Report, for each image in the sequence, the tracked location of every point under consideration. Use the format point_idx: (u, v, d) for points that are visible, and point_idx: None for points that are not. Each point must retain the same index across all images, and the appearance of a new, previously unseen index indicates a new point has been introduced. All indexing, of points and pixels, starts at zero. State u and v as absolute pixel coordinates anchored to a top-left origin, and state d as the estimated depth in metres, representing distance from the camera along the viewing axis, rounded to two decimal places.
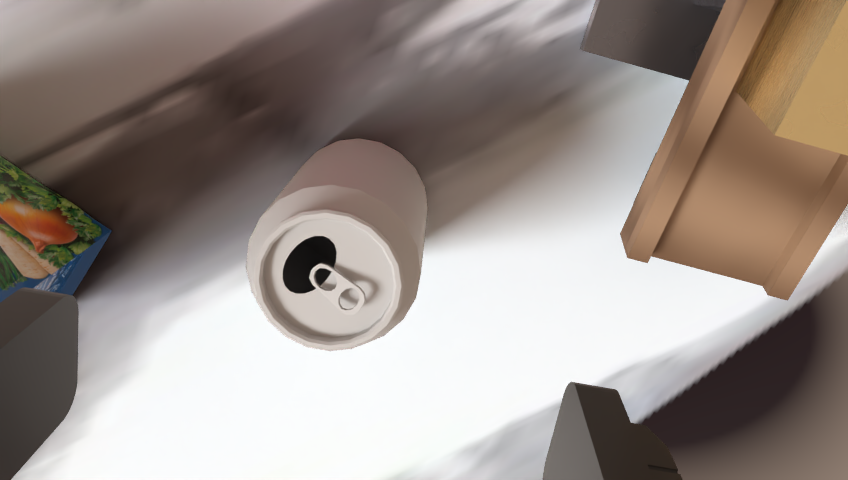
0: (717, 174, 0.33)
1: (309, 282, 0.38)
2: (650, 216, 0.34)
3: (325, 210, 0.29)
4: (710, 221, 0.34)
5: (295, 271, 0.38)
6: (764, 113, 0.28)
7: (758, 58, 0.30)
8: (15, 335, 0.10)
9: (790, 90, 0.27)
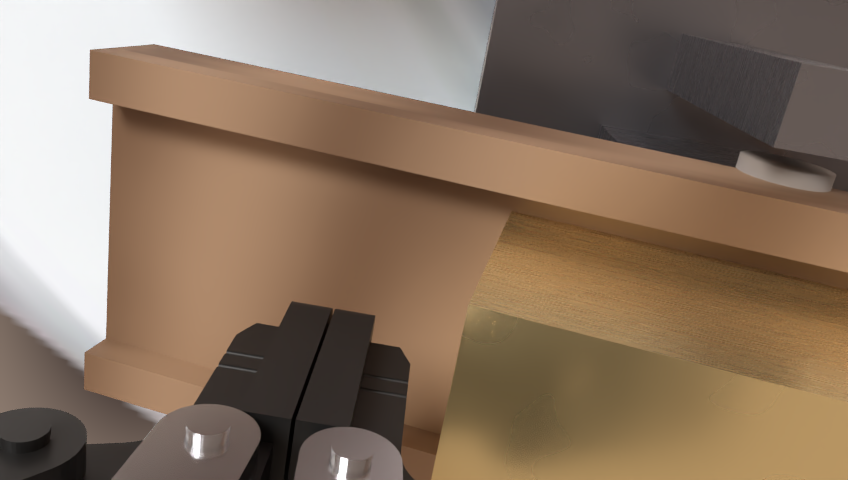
0: (310, 206, 0.16)
1: None
2: (194, 81, 0.15)
3: None
4: (211, 214, 0.16)
5: None
6: (502, 271, 0.12)
7: (592, 238, 0.14)
8: (317, 346, 0.11)
9: (580, 316, 0.10)
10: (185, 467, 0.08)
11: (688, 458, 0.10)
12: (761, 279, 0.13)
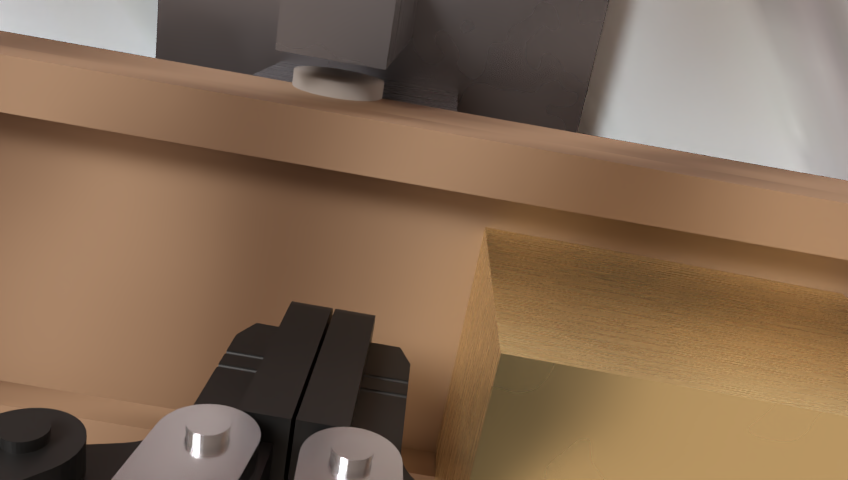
0: None
1: None
2: None
3: None
4: None
5: None
6: (512, 305, 0.11)
7: (574, 254, 0.13)
8: (317, 346, 0.11)
9: (610, 354, 0.10)
10: (185, 467, 0.08)
11: None
12: (737, 284, 0.14)
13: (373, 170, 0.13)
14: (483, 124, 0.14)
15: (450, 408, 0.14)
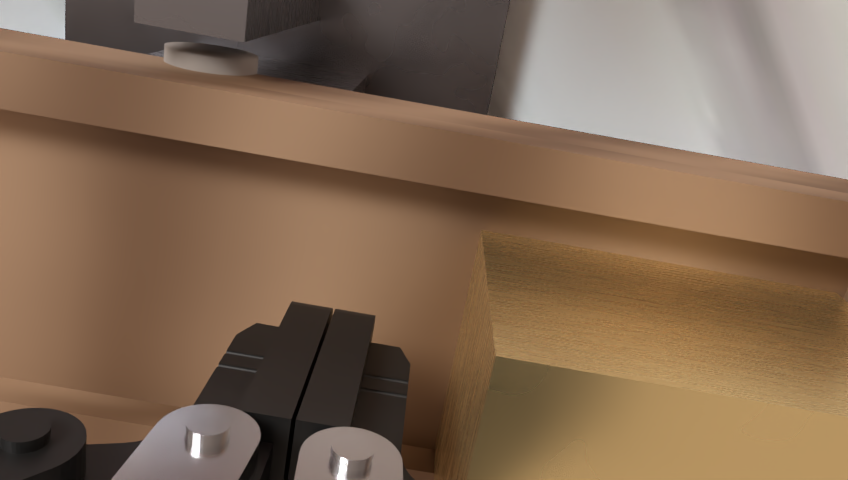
0: None
1: None
2: None
3: None
4: None
5: None
6: (507, 307, 0.11)
7: (569, 255, 0.14)
8: (317, 346, 0.11)
9: (604, 355, 0.10)
10: (185, 467, 0.08)
11: None
12: (732, 284, 0.14)
13: (228, 142, 0.13)
14: (350, 98, 0.14)
15: (448, 410, 0.14)
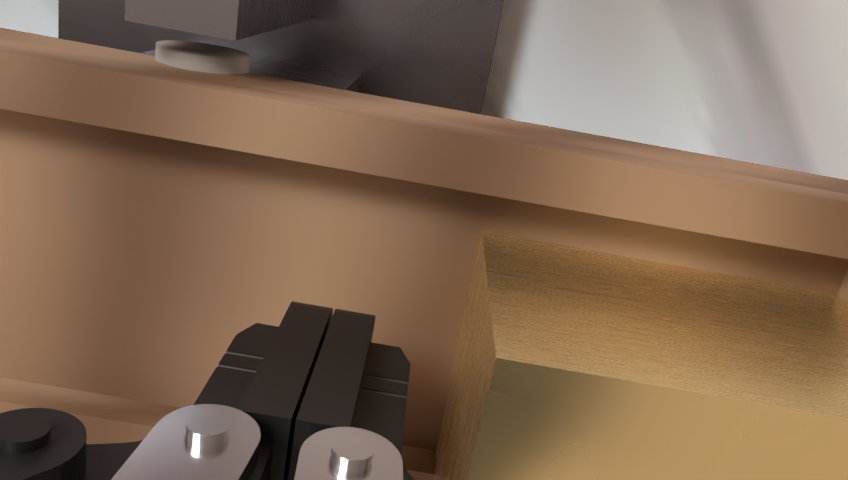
0: None
1: None
2: None
3: None
4: None
5: None
6: (508, 309, 0.11)
7: (570, 257, 0.14)
8: (317, 346, 0.11)
9: (605, 356, 0.10)
10: (185, 467, 0.08)
11: None
12: (733, 285, 0.14)
13: (218, 141, 0.13)
14: (341, 97, 0.14)
15: (449, 411, 0.14)
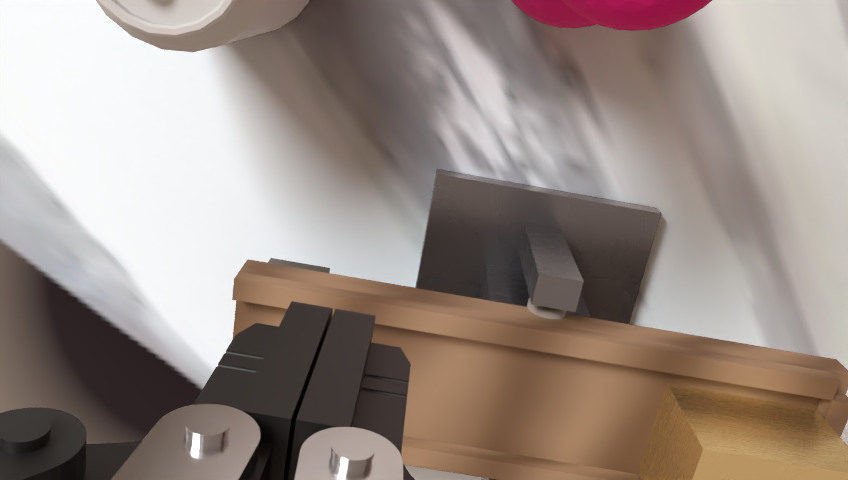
0: None
1: None
2: (287, 291, 0.32)
3: None
4: None
5: None
6: (697, 427, 0.31)
7: (706, 396, 0.33)
8: (317, 346, 0.11)
9: (735, 446, 0.30)
10: (185, 467, 0.08)
11: None
12: (772, 407, 0.33)
13: (572, 354, 0.33)
14: (611, 329, 0.34)
15: (652, 458, 0.34)
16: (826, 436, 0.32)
